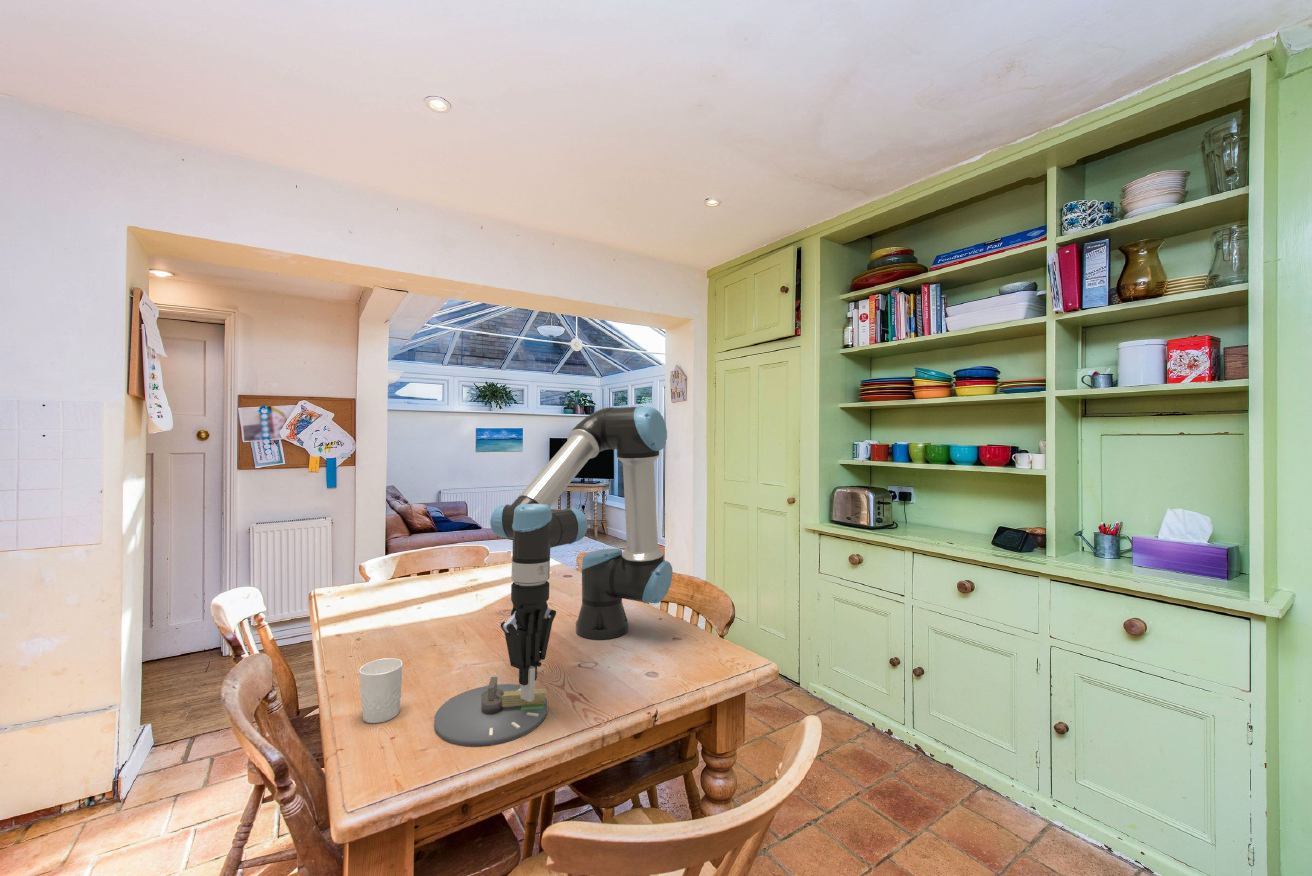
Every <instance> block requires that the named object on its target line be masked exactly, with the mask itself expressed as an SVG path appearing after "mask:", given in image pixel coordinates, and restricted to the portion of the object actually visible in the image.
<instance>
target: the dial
mask: <svg viewBox="0 0 1312 876" xmlns="http://www.w3.org/2000/svg"><path fill="white" fill-rule="evenodd" d="M488 686H489V685H484V686H480V687H475V688H472V689H468V690H466V691H464V692H461V693H458V694H457V695H454V696H453V697H451V698H449V699H448V700H447V701H445V702H444V703H443V704H441V706H440V707H438V709H437V710H436V712H435V715H434V720H433V727H434V731H435V733H436V735H437V736H438V738H441V739H442V740H443V741H445V742H448V743H450V744H453V745H457V746H462V747H463V746H464V747H488V746H494V745H495V746H496V745H499V744H503V743H504V744H505V743H507V742H511V741H514V740H516V739H519V738H521V737H523V736H526V735H528V734H529V733H531V732H533V731H534V730H535V729H537V728H538V727H539V726H540V725H541V724H542V723H543V721H544V720H546V717H547V715H548V700H547V698H546V696H545V704H536V705H523V706H509V707H503V709H502V710H500V711H498V712H496V713H484V712H482V711H481V695H482V693H483V692H485V691H487V690H488ZM497 689H500V690H502V691H503V692H504V691H518V690H521V684H514V683H500V684H498V683H497Z"/></svg>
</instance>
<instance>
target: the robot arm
mask: <svg viewBox="0 0 1312 876" xmlns="http://www.w3.org/2000/svg"><path fill="white" fill-rule="evenodd" d="M566 438H567V439H566V440H567V441H566V442H565V443H564V444H563V445H562V446H561V447H560V449H559V450H558V451H557V452H556V453H555V454H554V455H553V457H552V458H551V459H550V460H549V462H547V463H546V465H545V466H544V467H543V468H542V469H541V471H539V472H538V474H537V475H536V476H535V477H534V479H532V481H531V482H530V483H529V484H528V485H527V486H526V488H525V489H523V491H522V492H521V493H520V494H519V496H518V497H517V498H516V499H515V500H514V501H513V502H512V503H511V504H503V505H498V506H497V507H495V509H494V510H493V512H492V514H491V516H490V520H489V523H490V528H491V532H492V533H494V535H496V536H497V537H499V538H504V539H508V540H512V557H511V558H512V561H511V577H510V578H511V580H512V583H511V584H510V586H511V587H510V588H511V589H510V600H511V604H512V609H511V613H510V617H509V618H508V620H507V621H502V622H501V623H500V628H501V631H503V632H504V636H505V642H506V646H507V653H508V658H509V663H510V664H509V665H510V666H511V667H513V668H516V669H518V683H519V684H518V685H521V699H524V700H526V701H528V702H531V701H533V700H534V691H535V689H536V688H535V687H536V685H535V684H536V683H535V682H536V681H537V679H538V667H541V666H542V662H541V660H542V661H544V660H545V659H546V657H547V652H548V646H549V642H550V636H551V632H552V625H553V622H554V620H555V617H556V615H557V611H556V610H555V609H550V608H549V605H548V601H549V599H550V582H549V581H548V580H549V579H550V576H551V575H550V572H551V571H550V567H551V548H555V547H560V546H565V545H571V544H574V543H575V542H579V541H580V540H583V538H584V537H585V535H587V531H588V525H589V524H588V519H587V517H586V515H585V514H584V512H583V511H581V510H580V509H577V508H565V509H555V508H552V506H553V504H554V503H555V502H556V501H557V500H558V499H559V498H560V496H561V495H562V493H563V492H564V491H565V489H567V487H568V486H569V484H570V483H571V482H572V481H573V480H574V479H575V478H576V476H577V475H578V474H579V472H580V471H581V470H582V468H584V466H585V465H586V464H587V463H588V461H589V460H590V459H594V458H596V457H597V456H598V455H599V453H600V452H603V451H605V450H606V451H607V450H616V459H618V460H619V461H620V462H621V463H622V472H623V473H622V475H623V493H624V514H625V515H624V516H625V534H626V535H625V536H626V537H625V538H626V548H625V549H624V551H623V550H622V549H620V548H604V549H598V550H592V551H590V552H587V553H586V554H584V555H583V557H582V563H581V606H580V610H579V613H578V618H577V620H576V622H575V633H576V634H577V635H578V636H579V637H582V638H586V639H589V640H609V639H616V638H619V637H621V636H624V635H625V634H626V633H628V631H629V621H628V618H627V613H626V612H625V611H626V610H625V608H624V605H623V599H625V600H629V601H635V602H640V603H644V604H648V603H649V604H659V603H661V602H662V601H664V599H665V598H666V596H667V595H668V593H669V590H670V588H671V584H672V581H673V566H672V564H671V563H670V562H669V561H668V560H665V555H664V550H662V549H661V548H660V547H659V545H658V543H659V542H658V522H657V521H658V520H657V518H658V517H657V498H656V496H657V495H656V474H655V473H656V472H655V462H656V460H657V459H658V458H659V457H660V451H661V450H663V449H664V448H665V447H666V444H667V439H668V430H667V424H666V422H665V418H664V417H663V415H662V414H661V412H660V411H659V409H656V408H655V407H652V406H651V407H649V406H628V407H626V406H624V407H623V406H621V407H604V408H601V409H599V410H596V411H594V412H592V413H590V414H589V415H588V416H586V417H585V418H584V419H582V420H581V421H580V422H579V423H577V424H576V426H574V427H573V428H572V429H571V431H570V432H569V433H568V435H567V437H566Z"/></svg>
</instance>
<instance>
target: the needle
mask: <svg viewBox="0 0 1312 876" xmlns="http://www.w3.org/2000/svg"><path fill="white" fill-rule="evenodd" d="M489 679H490V680H489V683H488V685H487V686H488V690H487V691H485V692H483V693H482V695H481V711H482V712H484V713H496V712H498V711H500V710H502V709H503V707H509V706H523V705H536V704H545V697H546V688H535V691H534V700H533V701H531V702H528V701H526V700H524V699H521V690H518V691H504V692H503V691H502V690H500V689H497V684H498V676H491V677H490V678H489Z"/></svg>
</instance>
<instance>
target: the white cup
mask: <svg viewBox="0 0 1312 876" xmlns="http://www.w3.org/2000/svg"><path fill="white" fill-rule="evenodd" d="M403 663H404V662H403V661H402V660H401V659H399V658H395V657H394V658H392V657H391V658H390V657H387V658H386V657H385V658H380V659H375V660H372V661H369V662H367V663H365V664H363V665H362V666H361V667H359V670H358V671H359V672H358V673H359V690H360V691H359V692H360V703H361V704H360V705H361V709H362V710H361V711H362V721H364V722H365V723H367V724H378V723H379V724H380V723H384V722H388V721H390V720H392V719H394V718H395V717H397V716H398V714H399V713H400V712H401V696H402V686H403V685H402V684H403Z"/></svg>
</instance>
